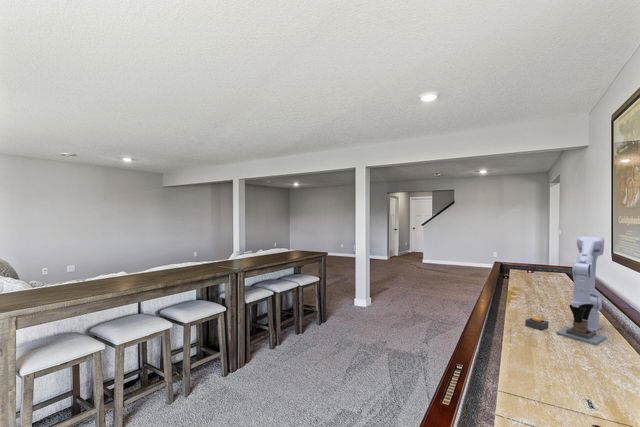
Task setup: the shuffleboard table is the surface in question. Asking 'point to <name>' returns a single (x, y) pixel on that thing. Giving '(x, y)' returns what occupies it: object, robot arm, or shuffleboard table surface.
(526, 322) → the control box
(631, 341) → the shuffleboard table surface
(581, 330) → the block
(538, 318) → the button
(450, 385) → the shuffleboard table surface
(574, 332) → the board
